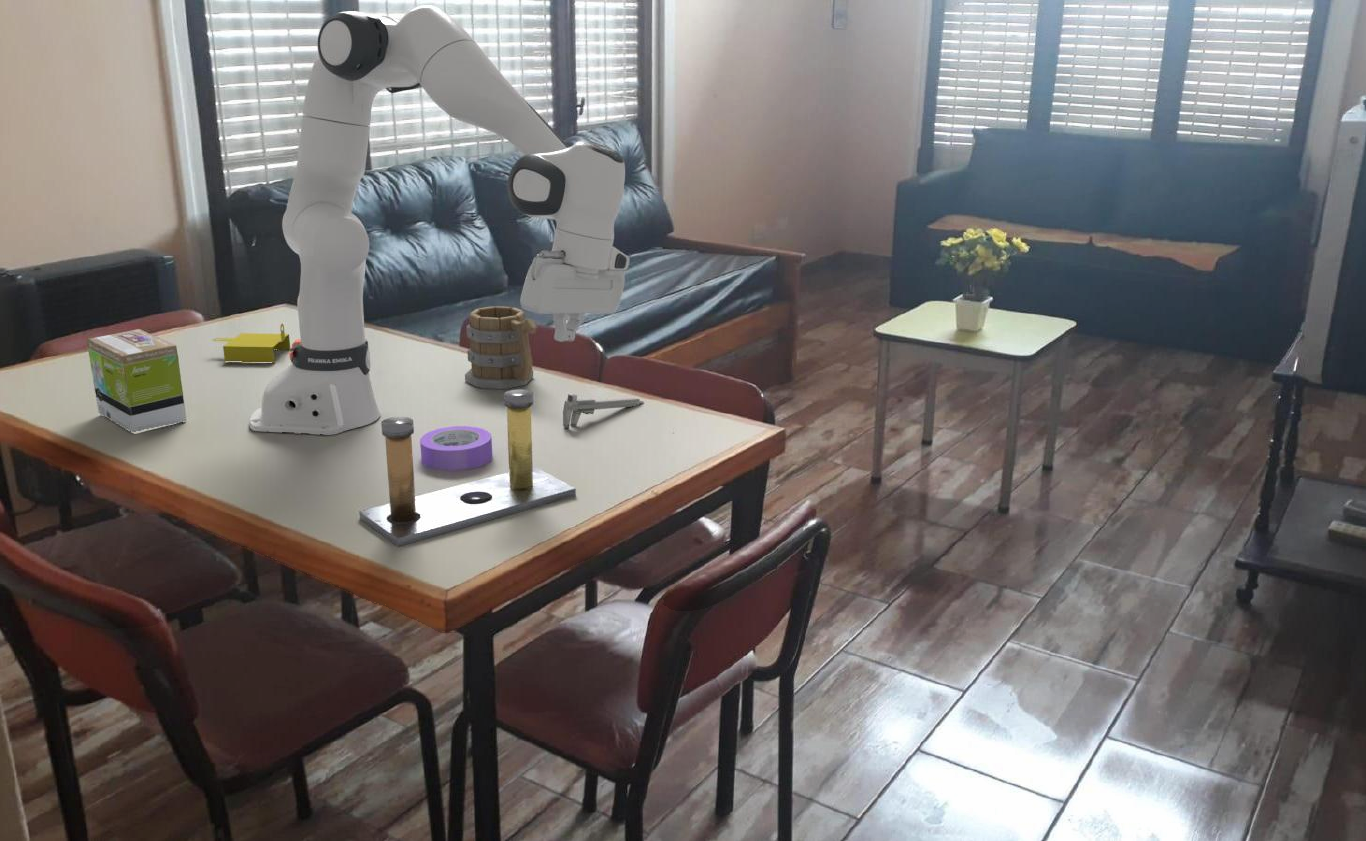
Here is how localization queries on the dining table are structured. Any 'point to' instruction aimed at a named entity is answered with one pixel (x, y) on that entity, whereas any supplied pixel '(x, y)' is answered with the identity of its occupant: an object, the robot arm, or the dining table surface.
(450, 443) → the masking tape
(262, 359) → the bracket
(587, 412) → the caliper
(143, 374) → the tea box
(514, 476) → the pin
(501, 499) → the plate
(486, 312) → the tankard
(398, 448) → the fixed pin
